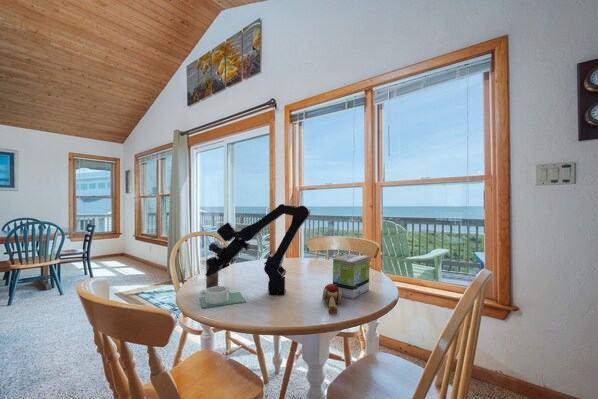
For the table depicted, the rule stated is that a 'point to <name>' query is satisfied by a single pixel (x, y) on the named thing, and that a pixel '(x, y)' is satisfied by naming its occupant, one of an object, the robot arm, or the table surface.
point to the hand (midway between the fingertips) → (209, 274)
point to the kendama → (332, 297)
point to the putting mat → (220, 297)
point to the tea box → (351, 275)
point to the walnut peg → (211, 278)
